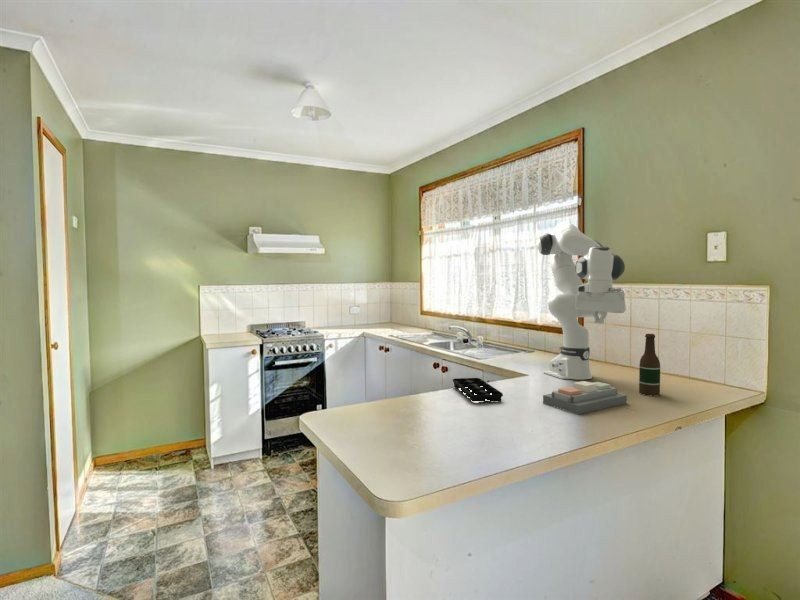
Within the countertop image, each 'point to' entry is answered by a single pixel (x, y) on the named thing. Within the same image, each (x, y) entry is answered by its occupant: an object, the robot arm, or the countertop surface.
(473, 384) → the egg carton
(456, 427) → the countertop surface
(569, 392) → the terracotta key
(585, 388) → the cream key
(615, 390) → the keypad
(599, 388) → the sage key
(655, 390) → the beer bottle
